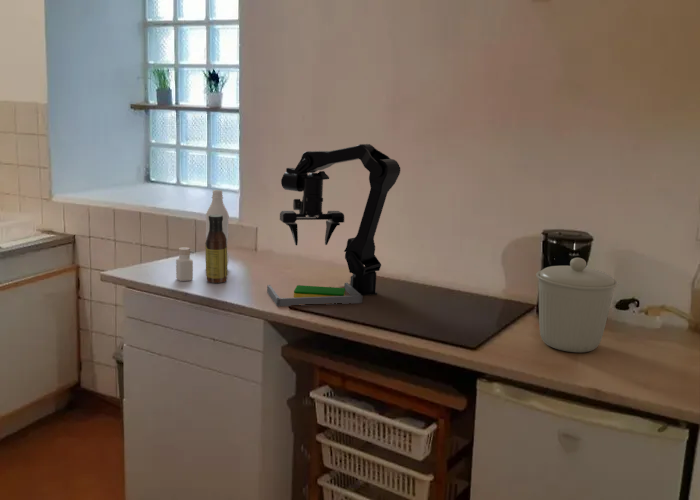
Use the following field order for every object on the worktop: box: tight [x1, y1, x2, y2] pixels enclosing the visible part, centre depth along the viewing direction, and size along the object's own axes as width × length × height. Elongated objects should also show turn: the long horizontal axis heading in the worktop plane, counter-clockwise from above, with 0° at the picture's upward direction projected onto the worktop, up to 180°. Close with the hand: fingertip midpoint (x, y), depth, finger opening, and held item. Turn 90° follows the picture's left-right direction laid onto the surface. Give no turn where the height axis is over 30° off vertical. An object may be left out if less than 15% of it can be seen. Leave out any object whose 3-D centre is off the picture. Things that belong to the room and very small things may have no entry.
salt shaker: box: [175, 246, 194, 282], centre depth 211 cm, size 4×4×10 cm
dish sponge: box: [293, 284, 346, 298], centre depth 201 cm, size 7×14×2 cm, turn 86°
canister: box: [535, 257, 619, 353], centre depth 166 cm, size 18×18×21 cm
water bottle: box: [204, 189, 230, 266], centre depth 225 cm, size 7×7×25 cm
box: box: [266, 282, 364, 307], centre depth 199 cm, size 24×15×2 cm, turn 107°
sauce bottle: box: [204, 214, 228, 284], centre depth 210 cm, size 7×6×20 cm
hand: (311, 244), depth 216 cm, fingers open, 9 cm apart
